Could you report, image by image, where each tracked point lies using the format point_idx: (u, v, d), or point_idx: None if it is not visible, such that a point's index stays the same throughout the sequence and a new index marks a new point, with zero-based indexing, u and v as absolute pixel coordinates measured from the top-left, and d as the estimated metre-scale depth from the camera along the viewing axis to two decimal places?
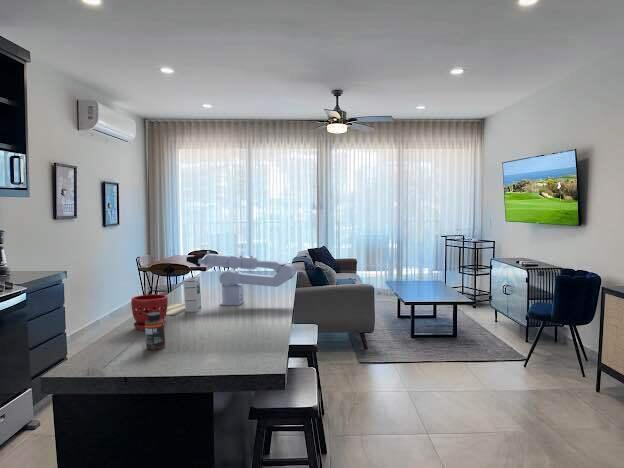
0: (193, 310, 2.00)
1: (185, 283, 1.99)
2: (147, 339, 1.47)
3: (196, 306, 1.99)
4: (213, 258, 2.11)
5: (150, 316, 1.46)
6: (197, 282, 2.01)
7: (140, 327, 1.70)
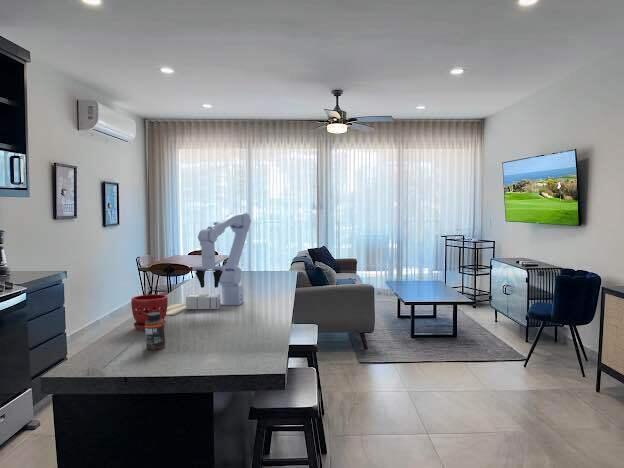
0: (187, 304, 2.02)
1: (214, 298, 2.02)
2: (147, 339, 1.47)
3: (191, 308, 2.02)
4: (212, 258, 1.97)
5: (150, 316, 1.46)
6: None
7: (140, 327, 1.70)
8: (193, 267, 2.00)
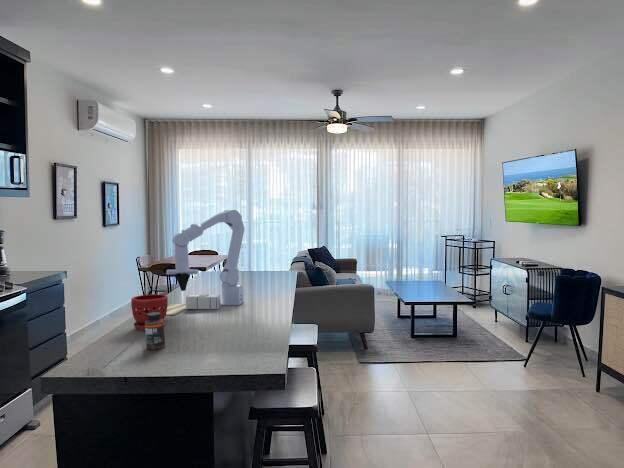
0: (187, 304, 2.02)
1: (214, 298, 2.03)
2: (147, 339, 1.47)
3: (191, 307, 2.02)
4: (186, 262, 2.00)
5: (150, 316, 1.46)
6: None
7: (140, 327, 1.70)
8: (167, 271, 2.02)
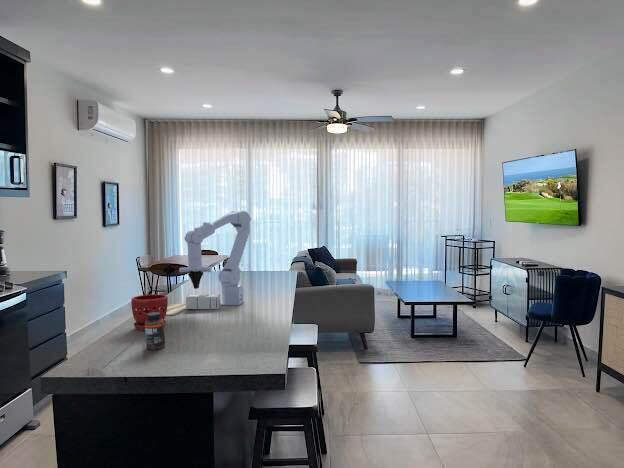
0: (187, 304, 2.02)
1: (214, 298, 2.03)
2: (147, 339, 1.47)
3: (191, 307, 2.02)
4: (199, 260, 1.99)
5: (150, 316, 1.46)
6: None
7: (140, 327, 1.70)
8: (180, 268, 2.01)
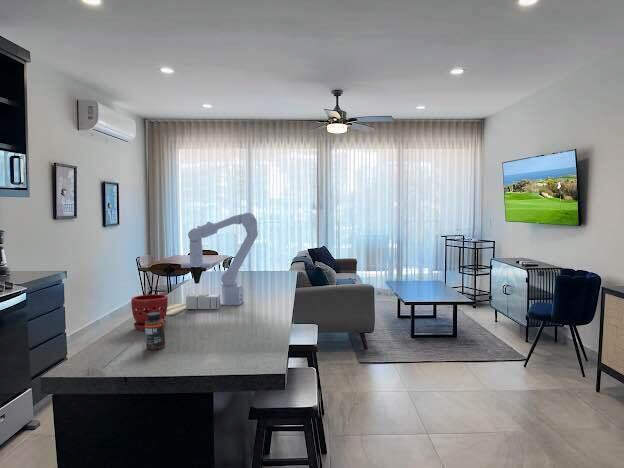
0: (187, 304, 2.02)
1: (214, 298, 2.03)
2: (147, 339, 1.47)
3: (191, 307, 2.02)
4: (200, 256, 2.09)
5: (150, 316, 1.46)
6: None
7: (140, 327, 1.70)
8: (182, 264, 2.12)
